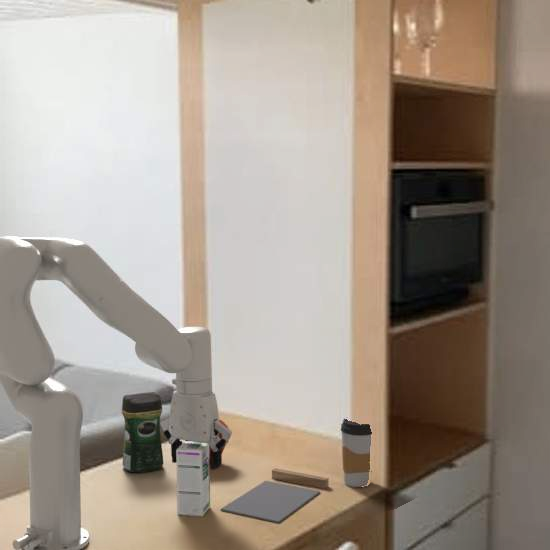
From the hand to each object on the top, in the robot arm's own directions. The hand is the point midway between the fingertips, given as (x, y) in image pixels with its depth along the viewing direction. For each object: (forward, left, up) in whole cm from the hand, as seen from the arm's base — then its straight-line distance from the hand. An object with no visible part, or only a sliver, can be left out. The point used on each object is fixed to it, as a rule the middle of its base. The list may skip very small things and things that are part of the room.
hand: (196, 464), depth 187 cm
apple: (+26, +14, -10) cm, 32 cm away
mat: (+12, -12, -10) cm, 20 cm away
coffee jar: (+16, +26, -10) cm, 33 cm away
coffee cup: (+32, -24, -10) cm, 41 cm away
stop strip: (+26, -12, -10) cm, 30 cm away
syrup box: (-1, 0, -10) cm, 10 cm away
